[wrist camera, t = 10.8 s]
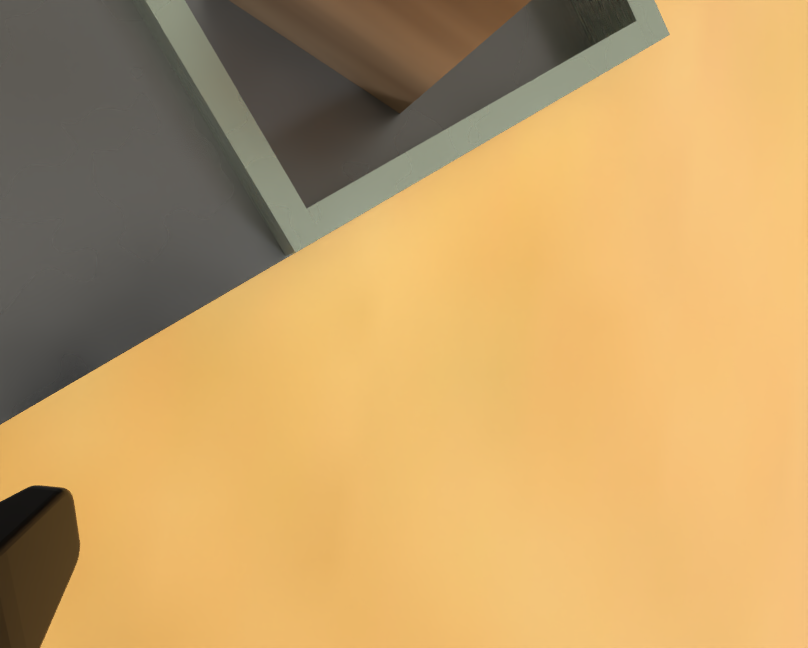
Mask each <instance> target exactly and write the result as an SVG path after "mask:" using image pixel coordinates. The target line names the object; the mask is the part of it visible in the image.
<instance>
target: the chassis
mask: <svg viewBox="0 0 808 648" xmlns="http://www.w3.org/2000/svg"><path fill="white" fill-rule="evenodd" d="M668 35H670V34H669V32H668V30H667V28H666V25H665V23H664V21H663V19H662V16H661V14H660V12H659V10H658V7H657V5H656V3H655V1H654V0H531V1H530V2H529V3H528V4H527V5H525V6H524V7H523V8H522V9H521V10H520V11H518V12H517V13H516V14H515V15H514V16H513V17H511V18H510V19H509V20H508V21H507V22H506V23H505V24H503V25H502V26H501V27H500V28H499V29H498V30H496V31H495V32H494V33H493V34H492V35H491V36H489V37H488V38H487V39H486V40H485V41H484V42H483V43H481V44H480V45H479V46H478V47H477V48H476V49H474V50H473V51H472V52H471V53H470V54H469V55H467V56H466V57H465V58H464V59H463V60H462V61H461V62H459V63H458V64H457V65H456V66H455V67H454V68H452V69H451V70H450V71H449V72H448V73H447V74H445V75H444V76H443V77H442V78H441V79H440V80H439V81H437V82H436V83H435V84H434V85H433V86H432V87H430V88H429V89H428V90H427V91H426V92H425V93H423V94H422V95H421V96H420V97H419V98H418V99H416V100H415V101H414V102H413V103H412V104H411V105H410V106H408V107H407V108H406V109H405V110H404V111H403V112H401V113H398V112H397V111H395V110H394V109H392V108H391V107H389V106H388V105H386V104H385V103H383V102H382V101H380V100H379V99H377V98H376V97H374V96H373V95H371V94H370V93H368V92H367V91H365V90H364V89H362V88H361V87H359V86H358V85H356V84H355V83H353V82H351V81H350V80H348V79H347V78H345V77H344V76H342V75H341V74H339V73H338V72H336V71H335V70H333V69H332V68H330V67H329V66H327V65H326V64H324V63H323V62H321V61H320V60H318V59H317V58H315V57H314V56H312V55H311V54H309V53H308V52H306V51H305V50H303V49H302V48H300V47H299V46H297V45H296V44H294V43H293V42H291V41H290V40H288V39H287V38H285V37H284V36H282V35H280V34H279V33H277V32H276V31H274V30H273V29H271V28H270V27H268V26H267V25H265V24H264V23H262V22H261V21H259V20H258V19H256V18H255V17H253V16H252V15H250V14H249V13H247V12H246V11H244V10H243V9H241V8H240V7H238V6H237V5H235V4H234V3H232V2H231V1H229V0H0V424H2V423H4V422H5V421H7V420H9V419H10V418H12V417H14V416H16V415H17V414H19V413H21V412H23V411H24V410H26V409H28V408H29V407H31V406H33V405H35V404H36V403H38V402H40V401H41V400H43V399H45V398H47V397H48V396H50V395H52V394H53V393H55V392H57V391H59V390H60V389H62V388H64V387H65V386H67V385H69V384H71V383H72V382H74V381H76V380H77V379H79V378H81V377H83V376H84V375H86V374H88V373H89V372H91V371H93V370H95V369H96V368H98V367H100V366H101V365H103V364H105V363H107V362H108V361H110V360H112V359H113V358H115V357H117V356H119V355H120V354H122V353H124V352H126V351H127V350H129V349H131V348H132V347H134V346H136V345H138V344H139V343H141V342H143V341H144V340H146V339H148V338H150V337H151V336H153V335H155V334H156V333H158V332H160V331H162V330H163V329H165V328H167V327H168V326H170V325H172V324H174V323H175V322H177V321H179V320H180V319H182V318H184V317H186V316H187V315H189V314H191V313H192V312H194V311H196V310H198V309H199V308H201V307H203V306H204V305H206V304H208V303H210V302H211V301H213V300H215V299H216V298H218V297H220V296H222V295H223V294H225V293H227V292H229V291H230V290H232V289H234V288H235V287H237V286H239V285H241V284H242V283H244V282H246V281H247V280H249V279H251V278H253V277H254V276H256V275H258V274H259V273H261V272H263V271H265V270H266V269H268V268H270V267H271V266H273V265H275V264H277V263H278V262H280V261H282V260H283V259H285V258H287V257H289V256H290V255H292V254H294V253H296V252H298V251H299V250H301V249H303V248H304V247H306V246H308V245H310V244H311V243H313V242H315V241H316V240H318V239H320V238H322V237H323V236H325V235H327V234H328V233H330V232H332V231H334V230H335V229H337V228H339V227H340V226H342V225H344V224H346V223H347V222H349V221H351V220H352V219H354V218H356V217H358V216H359V215H361V214H363V213H364V212H366V211H368V210H370V209H371V208H373V207H375V206H377V205H378V204H380V203H382V202H383V201H385V200H387V199H389V198H390V197H392V196H394V195H395V194H397V193H399V192H401V191H402V190H404V189H406V188H407V187H409V186H411V185H413V184H414V183H416V182H418V181H419V180H421V179H423V178H425V177H426V176H428V175H430V174H431V173H433V172H435V171H437V170H438V169H440V168H442V167H443V166H445V165H447V164H449V163H450V162H452V161H454V160H455V159H457V158H459V157H461V156H462V155H464V154H466V153H467V152H469V151H471V150H473V149H474V148H476V147H478V146H479V145H481V144H483V143H485V142H486V141H488V140H490V139H492V138H493V137H495V136H497V135H498V134H500V133H502V132H504V131H505V130H507V129H509V128H510V127H512V126H514V125H516V124H517V123H519V122H521V121H522V120H524V119H526V118H528V117H529V116H531V115H533V114H534V113H536V112H538V111H540V110H541V109H543V108H545V107H546V106H548V105H550V104H552V103H553V102H555V101H557V100H558V99H560V98H562V97H564V96H565V95H567V94H569V93H570V92H572V91H574V90H576V89H577V88H579V87H581V86H582V85H584V84H586V83H588V82H589V81H591V80H593V79H594V78H596V77H598V76H600V75H601V74H603V73H605V72H607V71H608V70H610V69H612V68H613V67H615V66H617V65H619V64H620V63H622V62H624V61H625V60H627V59H629V58H631V57H632V56H634V55H636V54H637V53H639V52H641V51H643V50H644V49H646V48H648V47H649V46H651V45H653V44H655V43H656V42H658V41H660V40H661V39H663V38H665V37H667V36H668Z"/></svg>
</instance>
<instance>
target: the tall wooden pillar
mask: <svg viewBox="0 0 808 648" xmlns="http://www.w3.org/2000/svg"><path fill="white" fill-rule="evenodd" d="M229 1H231V2H232V3H234V4H235V5H237V6H238V7H240V8H241V9H243V10H244V11H246V12H247V13H249V14H250V15H252V16H253V17H255V18H256V19H258V20H259V21H261V22H262V23H264V24H265V25H267V26H268V27H270V28H271V29H273V30H274V31H276V32H277V33H279V34H280V35H282V36H284V37H285V38H287V39H288V40H290V41H291V42H293V43H294V44H296V45H297V46H299V47H300V48H302V49H303V50H305V51H306V52H308V53H309V54H311V55H312V56H314V57H315V58H317V59H318V60H320V61H321V62H323V63H324V64H326V65H327V66H329V67H330V68H332V69H333V70H335V71H336V72H338V73H339V74H341V75H342V76H344V77H345V78H347V79H348V80H350V81H351V82H353V83H355V84H356V85H358V86H359V87H361V88H362V89H364V90H365V91H367V92H368V93H370V94H371V95H373V96H374V97H376V98H377V99H379V100H380V101H382V102H383V103H385V104H386V105H388V106H389V107H391V108H392V109H394V110H395V111H397V112H398V113H401V112H403V111H404V110H405V109H406V108H407V107H408V106H410V105H411V104H412V103H413V102H414V101H415V100H416V99H418V98H419V97H420V96H421V95H422V94H423V93H425V92H426V91H427V90H428V89H429V88H430V87H432V86H433V85H434V84H435V83H436V82H437V81H439V80H440V79H441V78H442V77H443V76H444V75H445V74H447V73H448V72H449V71H450V70H451V69H452V68H454V67H455V66H456V65H457V64H458V63H459V62H461V61H462V60H463V59H464V58H465V57H466V56H467V55H469V54H470V53H471V52H472V51H473V50H474V49H476V48H477V47H478V46H479V45H480V44H481V43H483V42H484V41H485V40H486V39H487V38H488V37H489V36H491V35H492V34H493V33H494V32H495V31H496V30H498V29H499V28H500V27H501V26H502V25H503V24H505V23H506V22H507V21H508V20H509V19H510V18H511V17H513V16H514V15H515V14H516V13H517V12H518V11H520V10H521V9H522V8H523V7H524V6H525V5H527V4H528V3H529V2H530V1H531V0H229Z"/></svg>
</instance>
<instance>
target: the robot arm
mask: <svg viewBox="0 0 808 648" xmlns="http://www.w3.org/2000/svg"><path fill="white" fill-rule="evenodd" d="M79 551H80V540H79V533H78V526H77V520H76V513H75V506H74V500H73V496H72V494H71V492H70V491H69V490H67V489H65V488H60V487H50V486H31V487H28V488H26V489H24V490H22V491H20V492H18V493H16V494H15V495H13V496H11V497H9V498H7V499H5V500H3V501H1V502H0V648H40V647H41V644H42V642H43V640H44V637H45V635H46V633H47V631H48V628H49V626H50V624H51V621H52V619H53V617H54V614H55V612H56V610H57V607H58V605H59V603H60V601H61V598H62V596H63V594H64V591H65V589H66V587H67V584H68V582H69V580H70V577H71V575H72V573H73V571H74V568H75V566H76V563H77V560H78V557H79Z"/></svg>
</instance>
